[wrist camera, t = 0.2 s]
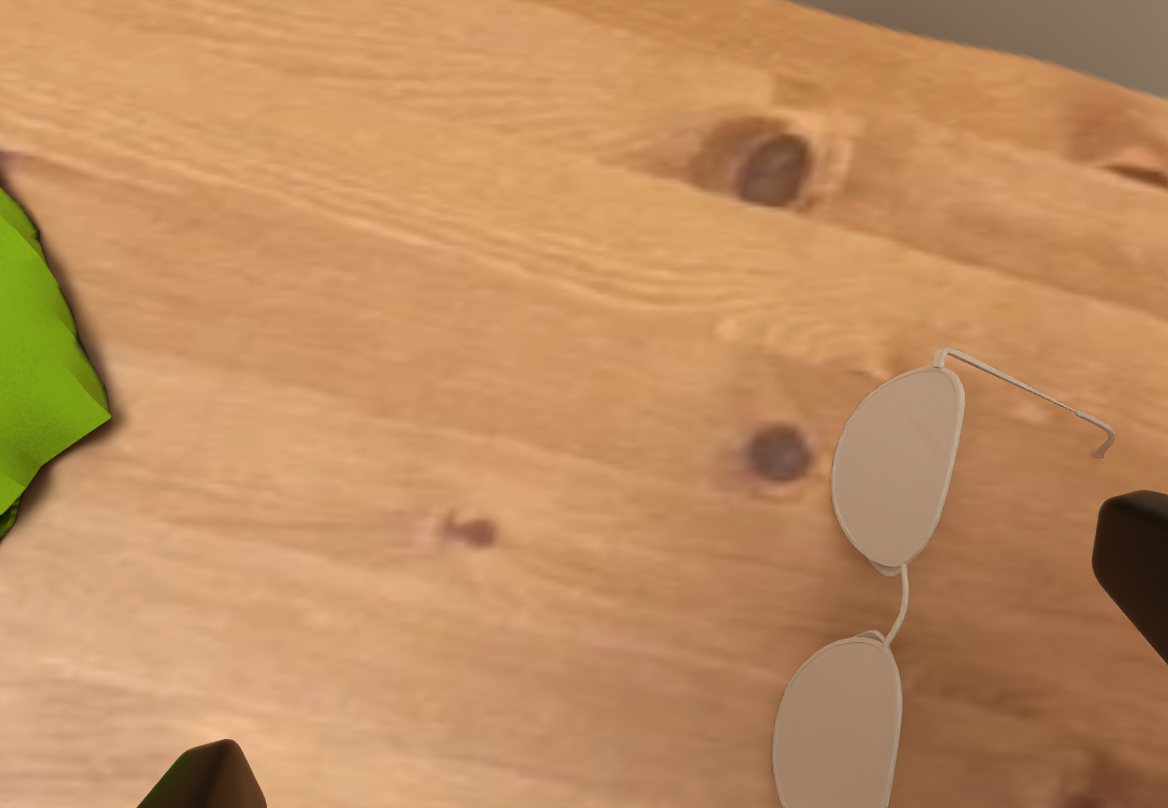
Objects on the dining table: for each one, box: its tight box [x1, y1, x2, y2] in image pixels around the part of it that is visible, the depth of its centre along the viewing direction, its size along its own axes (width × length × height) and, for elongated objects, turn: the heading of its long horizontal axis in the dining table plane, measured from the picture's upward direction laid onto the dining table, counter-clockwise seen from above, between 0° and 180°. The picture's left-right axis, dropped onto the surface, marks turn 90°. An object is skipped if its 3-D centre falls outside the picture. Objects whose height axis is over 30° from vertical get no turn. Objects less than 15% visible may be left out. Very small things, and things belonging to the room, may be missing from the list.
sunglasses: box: [772, 348, 1115, 808], centre depth 22 cm, size 14×8×5 cm, turn 164°
